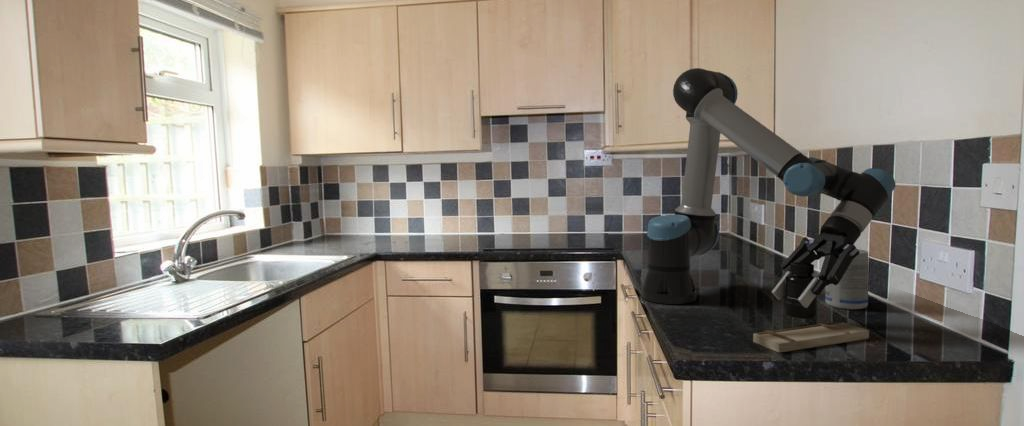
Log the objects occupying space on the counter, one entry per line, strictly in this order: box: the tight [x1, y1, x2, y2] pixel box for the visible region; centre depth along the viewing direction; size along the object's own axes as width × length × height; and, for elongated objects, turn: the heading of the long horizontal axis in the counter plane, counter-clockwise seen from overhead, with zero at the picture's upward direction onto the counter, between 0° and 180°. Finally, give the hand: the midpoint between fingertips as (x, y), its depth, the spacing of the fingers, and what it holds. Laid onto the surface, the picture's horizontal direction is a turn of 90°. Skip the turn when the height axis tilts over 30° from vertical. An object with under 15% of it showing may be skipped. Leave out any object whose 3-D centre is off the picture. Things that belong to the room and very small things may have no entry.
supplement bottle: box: [783, 262, 819, 320], centre depth 119 cm, size 7×7×12 cm
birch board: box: [752, 320, 870, 353], centre depth 111 cm, size 7×24×2 cm, turn 107°
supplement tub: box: [824, 248, 870, 310], centre depth 137 cm, size 10×10×15 cm
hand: (788, 299), depth 118 cm, fingers closed on supplement bottle, 7 cm apart
